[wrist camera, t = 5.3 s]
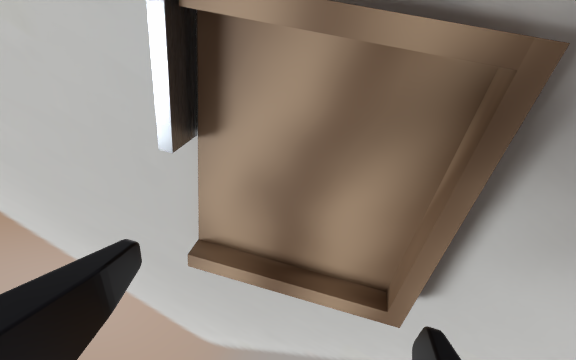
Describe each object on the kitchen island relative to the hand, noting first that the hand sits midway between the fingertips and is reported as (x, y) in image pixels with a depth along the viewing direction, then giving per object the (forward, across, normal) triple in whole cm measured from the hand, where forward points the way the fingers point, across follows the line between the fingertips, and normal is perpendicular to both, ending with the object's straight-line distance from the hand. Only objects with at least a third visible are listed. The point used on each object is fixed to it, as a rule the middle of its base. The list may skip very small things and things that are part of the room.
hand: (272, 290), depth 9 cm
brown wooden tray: (+8, 0, 0) cm, 8 cm away
